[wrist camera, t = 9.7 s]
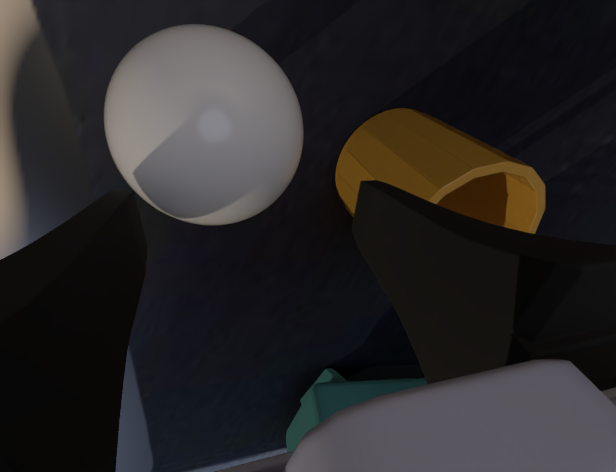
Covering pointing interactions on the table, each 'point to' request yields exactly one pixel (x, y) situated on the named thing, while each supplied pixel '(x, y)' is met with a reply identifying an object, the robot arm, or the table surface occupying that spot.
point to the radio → (338, 399)
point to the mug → (441, 169)
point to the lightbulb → (203, 124)
